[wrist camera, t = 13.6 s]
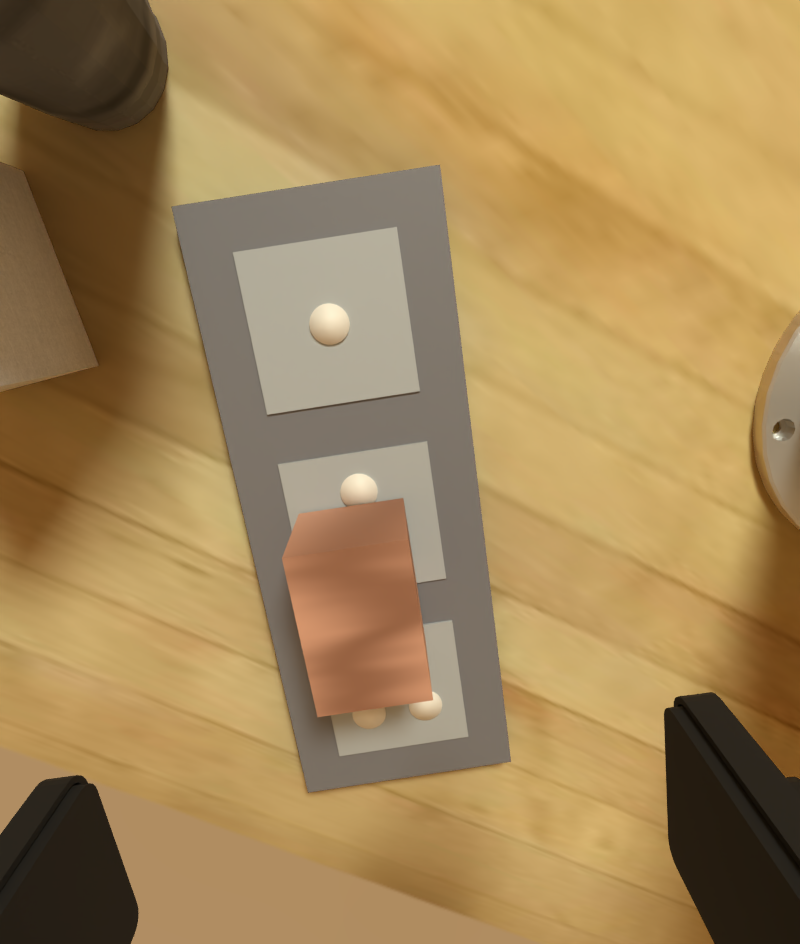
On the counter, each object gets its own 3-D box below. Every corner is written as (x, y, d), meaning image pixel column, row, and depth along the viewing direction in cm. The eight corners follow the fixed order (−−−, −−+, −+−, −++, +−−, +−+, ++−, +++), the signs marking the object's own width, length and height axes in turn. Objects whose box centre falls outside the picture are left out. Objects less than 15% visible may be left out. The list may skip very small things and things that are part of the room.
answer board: (436, 171, 21) (440, 163, 20) (506, 745, 27) (511, 764, 26) (180, 211, 21) (169, 205, 20) (310, 775, 27) (307, 795, 26)
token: (407, 539, 19) (433, 700, 20) (403, 497, 22) (424, 636, 24) (281, 558, 19) (317, 717, 20) (298, 513, 23) (327, 650, 24)
